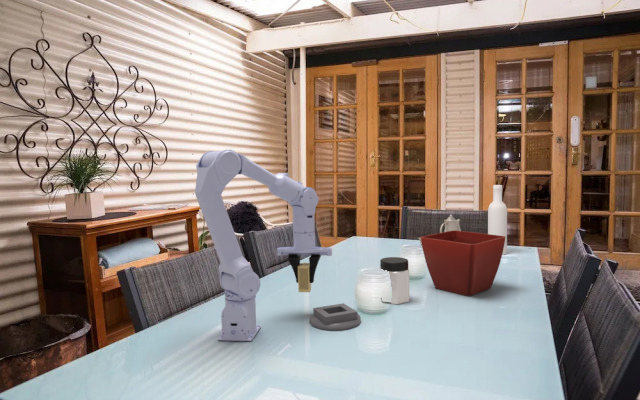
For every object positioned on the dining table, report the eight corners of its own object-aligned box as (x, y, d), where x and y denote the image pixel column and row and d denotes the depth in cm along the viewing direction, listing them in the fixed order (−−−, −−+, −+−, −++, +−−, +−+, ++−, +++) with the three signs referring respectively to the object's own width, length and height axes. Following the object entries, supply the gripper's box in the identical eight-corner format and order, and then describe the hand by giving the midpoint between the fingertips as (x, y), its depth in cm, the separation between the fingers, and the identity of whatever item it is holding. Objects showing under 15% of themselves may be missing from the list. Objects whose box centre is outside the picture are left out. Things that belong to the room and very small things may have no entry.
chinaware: (448, 245, 225) (445, 212, 226) (478, 245, 213) (475, 211, 213) (414, 253, 208) (411, 217, 208) (444, 254, 195) (441, 216, 195)
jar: (375, 301, 129) (374, 261, 128) (385, 294, 136) (384, 256, 135) (404, 306, 124) (404, 264, 123) (413, 298, 131) (413, 258, 131)
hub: (322, 334, 105) (321, 321, 104) (302, 317, 117) (302, 306, 116) (369, 325, 110) (369, 313, 110) (346, 310, 122) (346, 299, 122)
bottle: (508, 252, 195) (509, 184, 193) (505, 255, 188) (506, 185, 186) (489, 251, 199) (489, 184, 197) (485, 254, 193) (486, 185, 190)
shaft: (309, 292, 116) (309, 266, 116) (298, 292, 117) (297, 266, 116) (312, 287, 120) (311, 262, 120) (301, 287, 121) (300, 262, 120)
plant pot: (473, 301, 127) (473, 243, 126) (419, 288, 142) (419, 236, 141) (506, 289, 139) (507, 236, 138) (453, 278, 154) (453, 230, 153)
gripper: (332, 229, 120) (333, 278, 121) (280, 229, 122) (282, 277, 123) (329, 233, 113) (330, 285, 114) (274, 233, 115) (276, 284, 116)
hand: (305, 282), depth 118 cm, fingers closed on shaft, 3 cm apart
